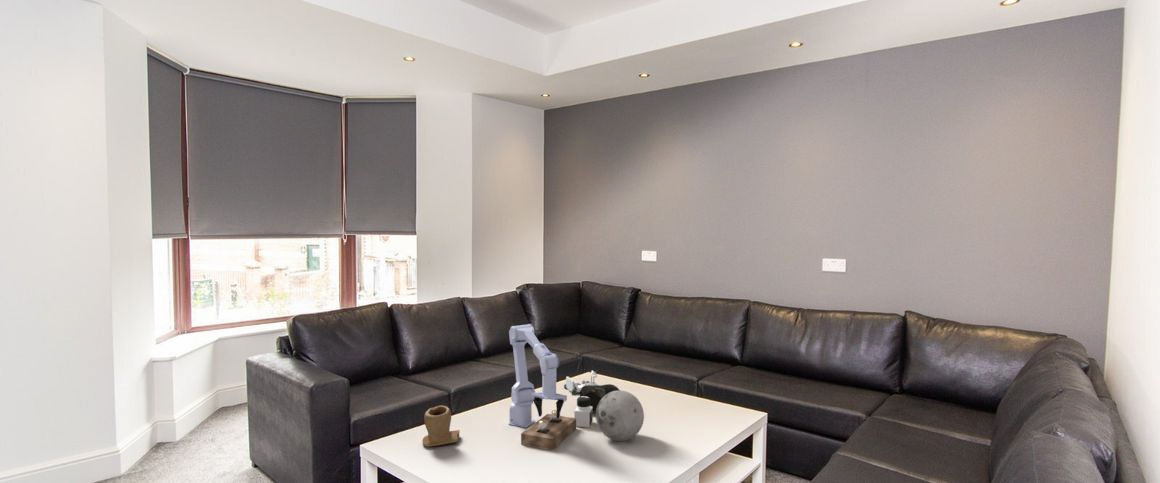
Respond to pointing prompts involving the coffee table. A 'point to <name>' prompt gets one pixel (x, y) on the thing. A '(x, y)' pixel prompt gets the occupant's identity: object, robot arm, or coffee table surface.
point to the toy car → (578, 384)
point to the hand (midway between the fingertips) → (549, 416)
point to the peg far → (555, 417)
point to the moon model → (619, 415)
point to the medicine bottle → (583, 412)
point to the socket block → (548, 433)
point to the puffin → (596, 393)
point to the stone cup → (439, 427)
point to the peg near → (543, 426)
